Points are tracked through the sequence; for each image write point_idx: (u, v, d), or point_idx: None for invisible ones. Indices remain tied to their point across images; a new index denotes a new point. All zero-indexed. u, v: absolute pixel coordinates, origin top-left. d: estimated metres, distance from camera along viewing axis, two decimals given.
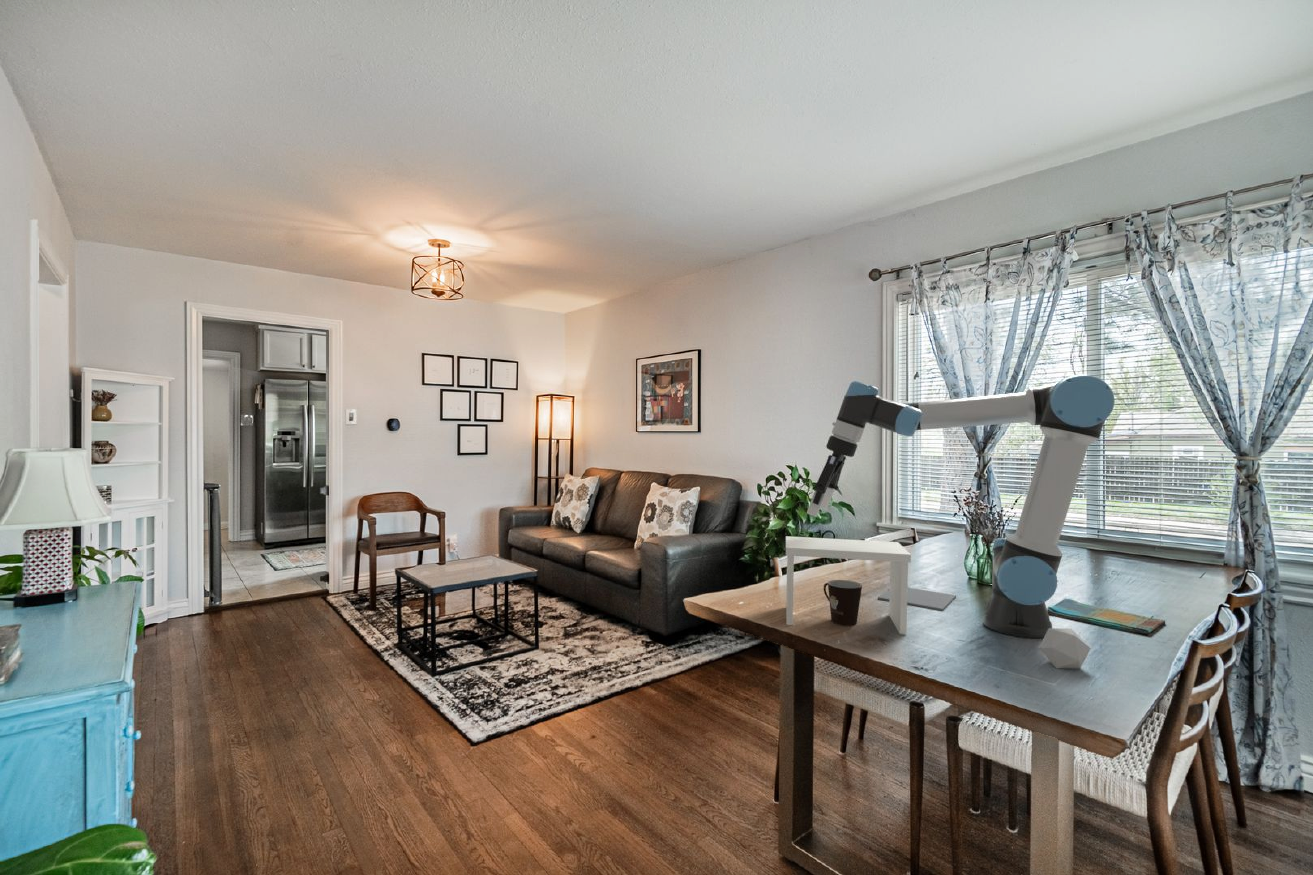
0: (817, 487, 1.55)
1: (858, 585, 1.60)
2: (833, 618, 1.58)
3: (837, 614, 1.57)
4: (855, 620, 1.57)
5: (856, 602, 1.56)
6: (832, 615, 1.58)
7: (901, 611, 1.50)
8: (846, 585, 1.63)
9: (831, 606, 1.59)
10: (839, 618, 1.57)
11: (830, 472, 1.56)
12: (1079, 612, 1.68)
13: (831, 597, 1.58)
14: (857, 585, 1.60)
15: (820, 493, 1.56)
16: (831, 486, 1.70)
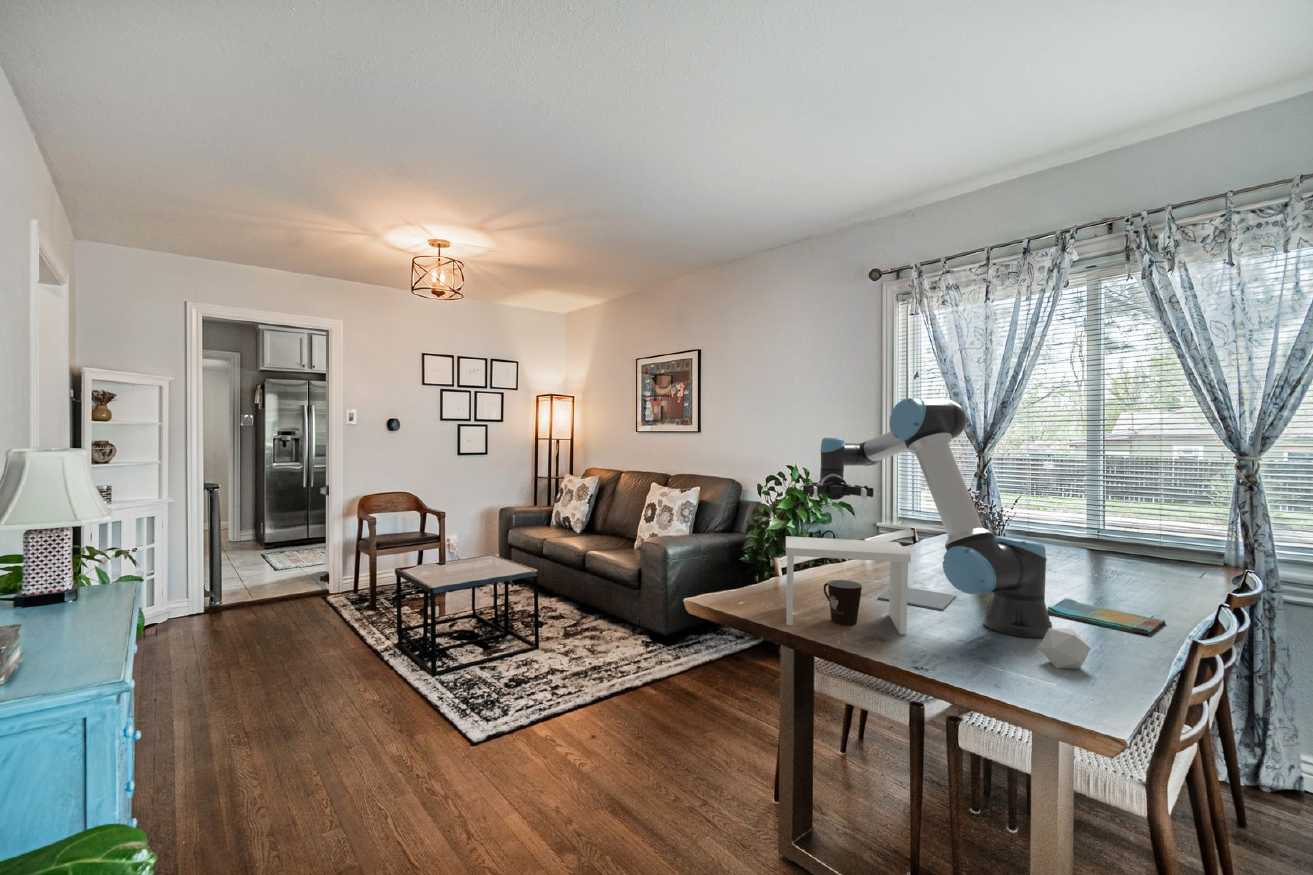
0: (803, 491, 1.83)
1: (858, 585, 1.60)
2: (833, 618, 1.58)
3: (837, 614, 1.57)
4: (855, 620, 1.57)
5: (856, 602, 1.56)
6: (832, 615, 1.58)
7: (901, 611, 1.50)
8: (846, 585, 1.63)
9: (831, 606, 1.59)
10: (839, 618, 1.57)
11: None
12: (1079, 612, 1.68)
13: (831, 597, 1.58)
14: (857, 585, 1.60)
15: (809, 489, 1.82)
16: None
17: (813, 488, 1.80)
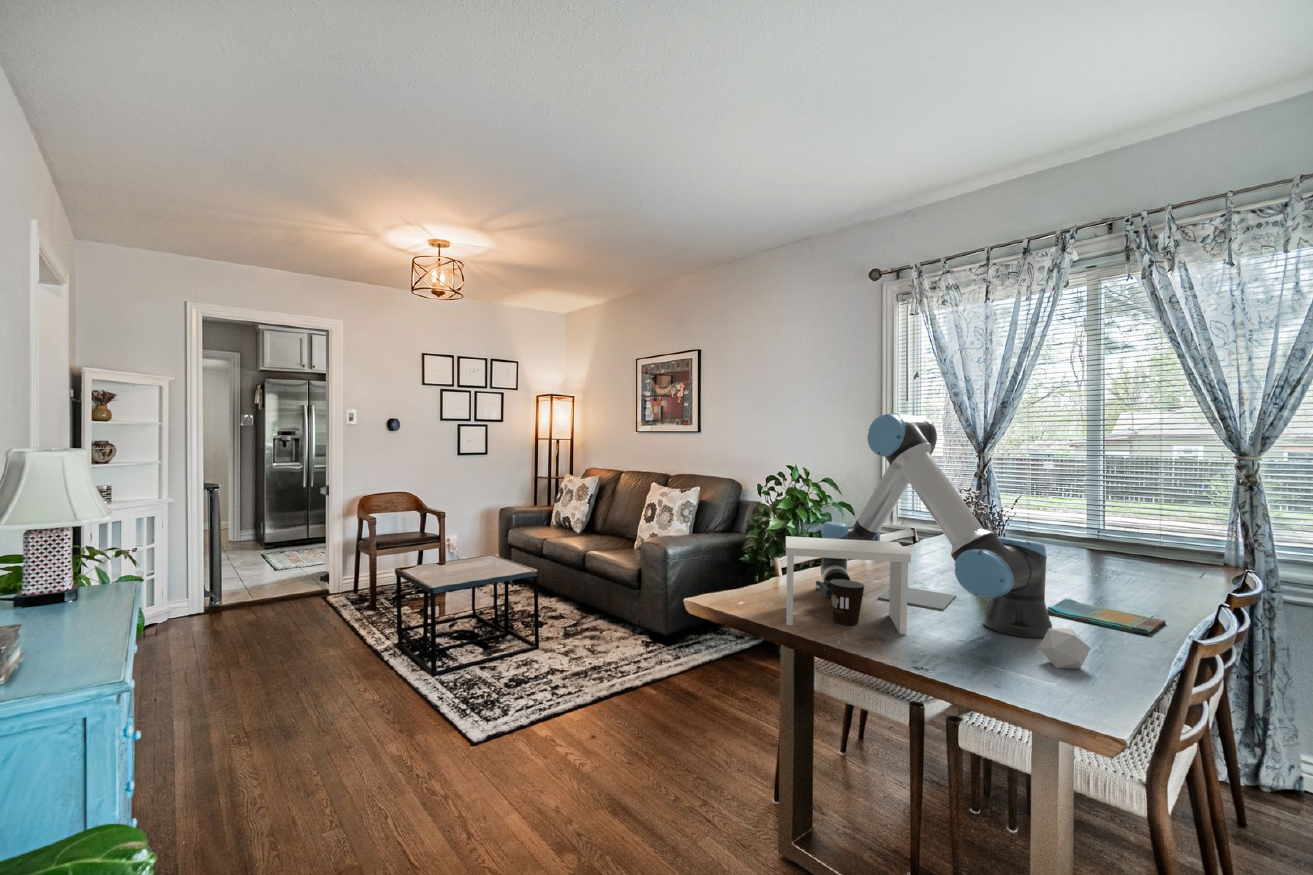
0: (827, 596, 1.63)
1: (861, 585, 1.59)
2: (834, 617, 1.58)
3: (837, 613, 1.57)
4: (856, 620, 1.57)
5: (857, 602, 1.56)
6: (833, 614, 1.59)
7: (901, 611, 1.50)
8: (850, 585, 1.62)
9: (832, 605, 1.59)
10: (839, 617, 1.57)
11: (821, 586, 1.68)
12: (1079, 612, 1.68)
13: (832, 596, 1.58)
14: (860, 585, 1.60)
15: None
16: None
17: None
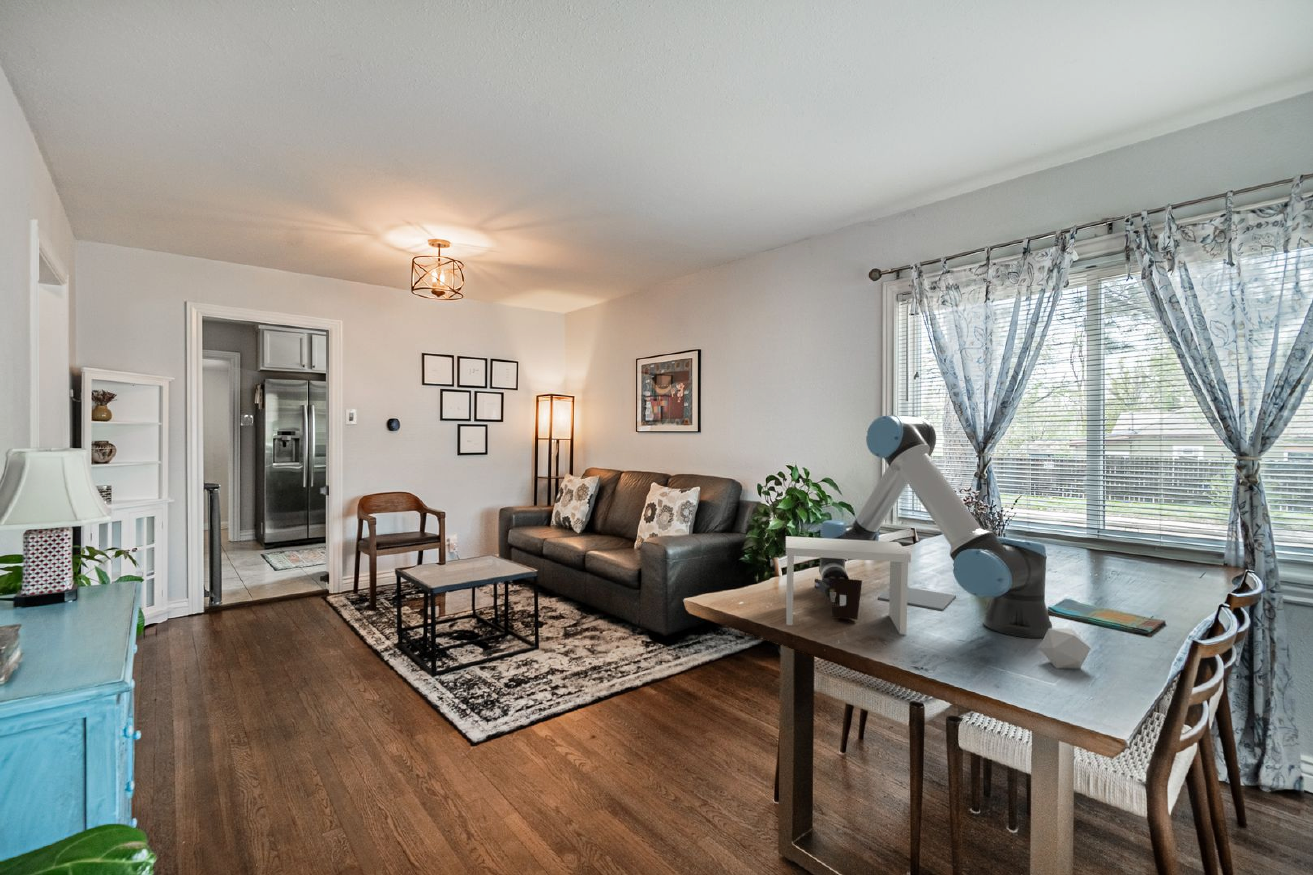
0: (826, 594, 1.65)
1: None
2: (832, 612, 1.59)
3: (836, 607, 1.58)
4: (854, 614, 1.57)
5: (854, 595, 1.58)
6: (832, 609, 1.60)
7: (901, 611, 1.50)
8: None
9: (831, 600, 1.61)
10: (837, 611, 1.58)
11: (820, 584, 1.70)
12: (1079, 612, 1.68)
13: (830, 590, 1.61)
14: None
15: None
16: None
17: None
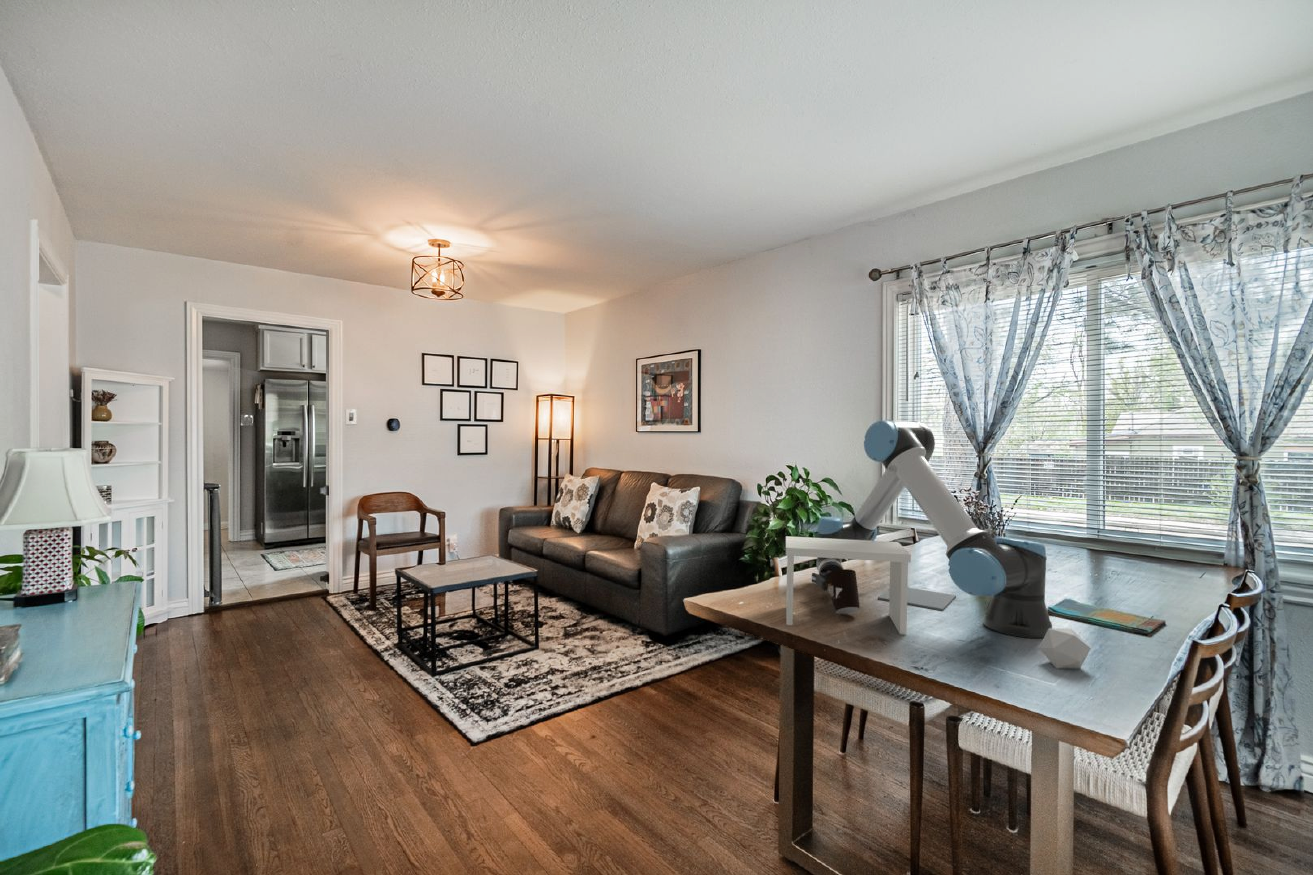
0: (823, 587, 1.71)
1: None
2: (835, 606, 1.64)
3: (836, 599, 1.63)
4: (855, 602, 1.62)
5: (850, 583, 1.63)
6: (833, 604, 1.64)
7: (901, 611, 1.50)
8: None
9: (831, 596, 1.66)
10: (838, 602, 1.62)
11: (817, 578, 1.76)
12: (1079, 612, 1.68)
13: (828, 587, 1.67)
14: None
15: None
16: None
17: None
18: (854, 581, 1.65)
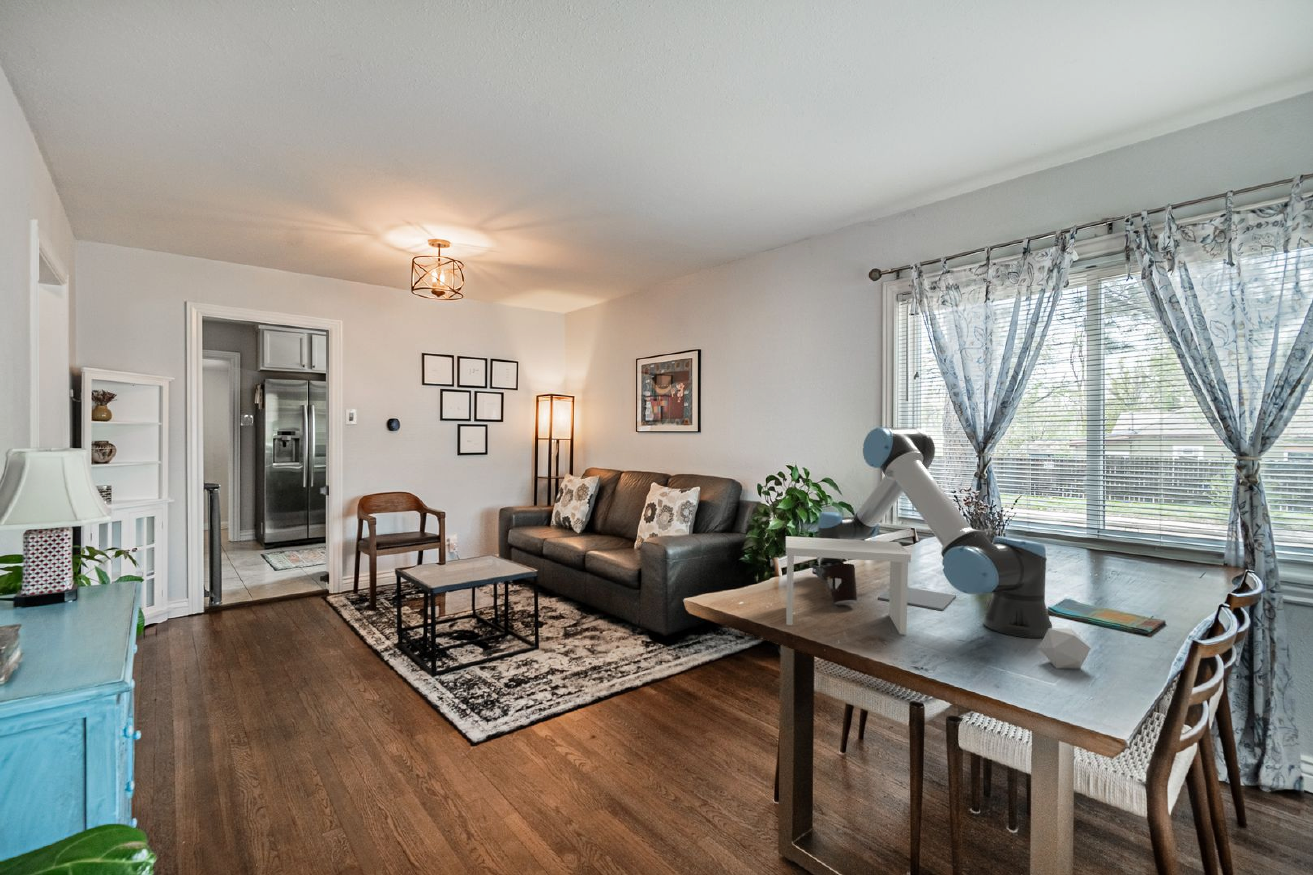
0: (823, 578, 1.79)
1: None
2: (833, 598, 1.72)
3: (834, 592, 1.72)
4: (852, 595, 1.70)
5: (849, 577, 1.72)
6: (832, 596, 1.73)
7: (901, 611, 1.50)
8: None
9: (830, 588, 1.74)
10: (836, 595, 1.71)
11: (818, 569, 1.84)
12: (1079, 612, 1.68)
13: (827, 579, 1.75)
14: None
15: None
16: None
17: None
18: (852, 575, 1.73)
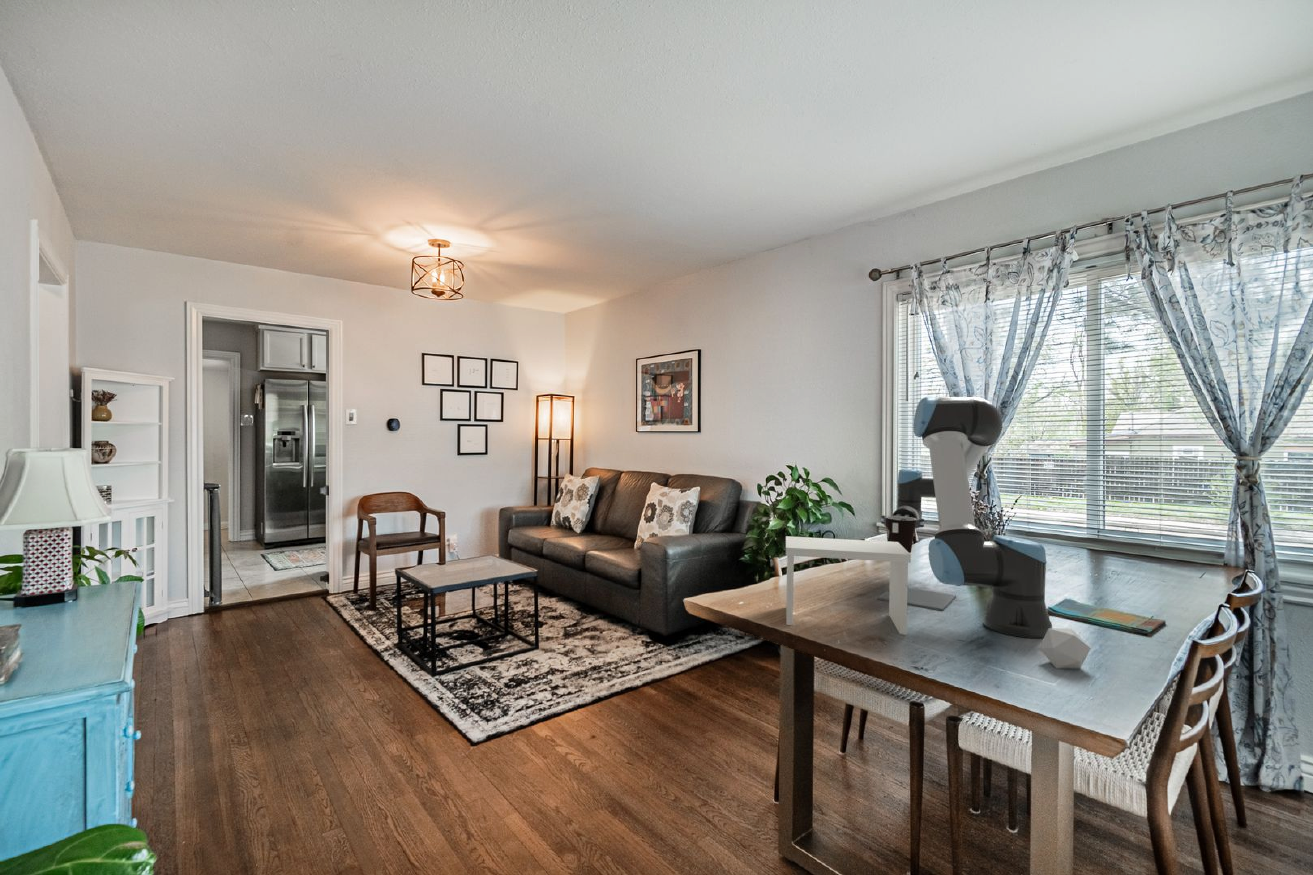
0: None
1: None
2: None
3: None
4: None
5: (905, 533, 1.78)
6: None
7: (901, 611, 1.50)
8: None
9: (887, 536, 1.84)
10: None
11: (884, 518, 1.91)
12: (1079, 612, 1.68)
13: (886, 528, 1.83)
14: None
15: None
16: None
17: None
18: (910, 530, 1.79)
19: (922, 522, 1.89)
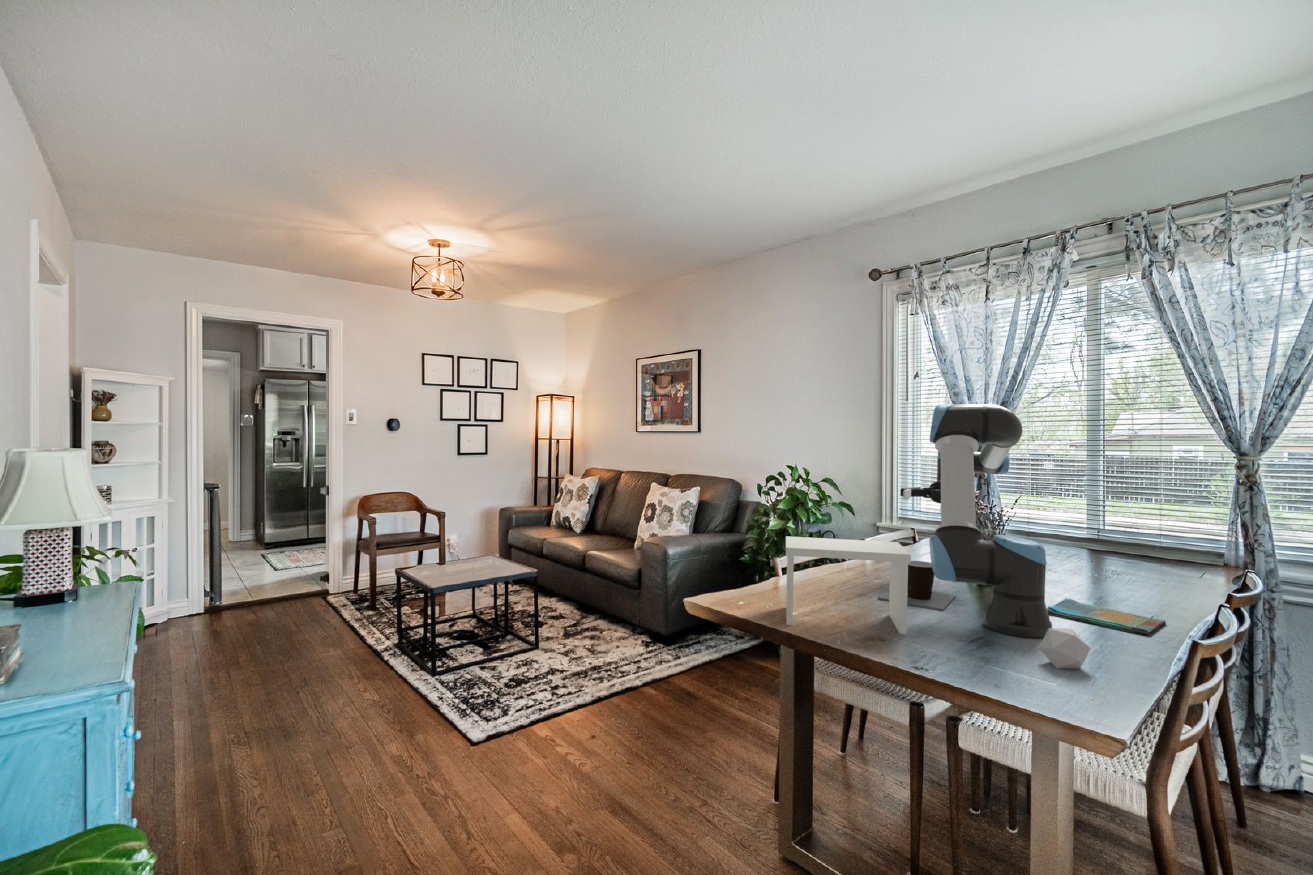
0: None
1: None
2: None
3: (908, 588, 1.82)
4: (924, 596, 1.79)
5: (923, 580, 1.78)
6: (907, 589, 1.84)
7: (901, 611, 1.50)
8: (929, 567, 1.84)
9: None
10: (909, 591, 1.82)
11: None
12: (1079, 612, 1.68)
13: None
14: None
15: None
16: None
17: None
18: (929, 577, 1.78)
19: None
